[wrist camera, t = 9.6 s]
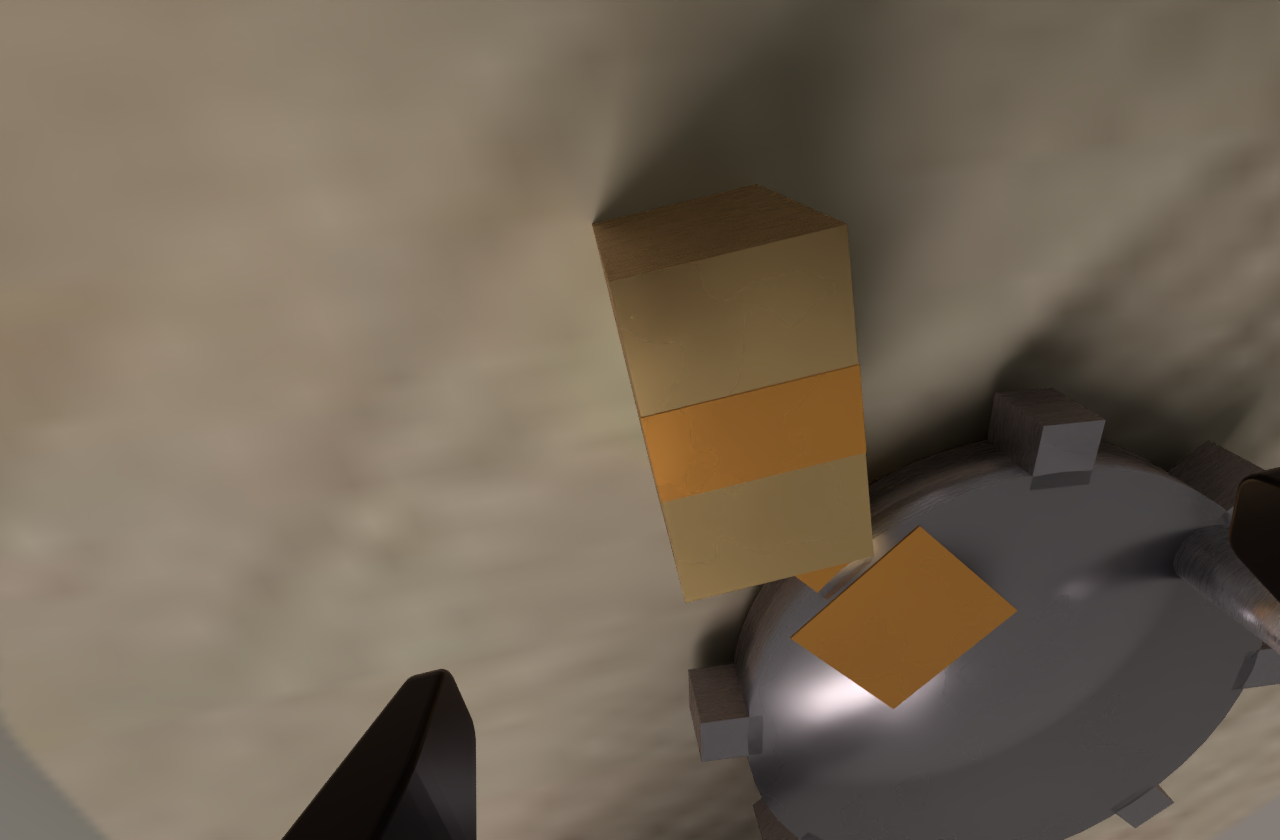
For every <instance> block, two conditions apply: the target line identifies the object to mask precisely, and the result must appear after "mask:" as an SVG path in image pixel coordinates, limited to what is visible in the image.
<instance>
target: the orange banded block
mask: <svg viewBox="0 0 1280 840" xmlns="http://www.w3.org/2000/svg"><path fill="white" fill-rule="evenodd" d="M592 226H593V230H594V234H595V239H596V243H597V247H598V251H599V255H600V259H601V263H602V268H603V272H604V276H605V280H606V284H607V288H608V292H609V297H610V301H611V305H612V309H613V313H614V317H615V321H616V326H617V330H618V334H619V338H620V342H621V346H622V350H623V355H624V359H625V363H626V367H627V371H628V375H629V379H630V384H631V388H632V392H633V396H634V400H635V404H636V408H637V413H638V417H639V421H640V425H641V429H642V433H643V437H644V442H645V446H646V450H647V454H648V458H649V462H650V466H651V471H652V474H653V478H654V482H655V486H656V490H657V494H658V498H659V502H660V506H661V509H662V513H663V517H664V521H665V525H666V529H667V533H668V537H669V540H670V544H671V548H672V552H673V556H674V560H675V564H676V568H677V572H678V575H679V579H680V583H681V587H682V591H683V595H684V599H685V603H687V602H691V601H695V600H699V599H703V598H707V597H711V596H715V595H719V594H723V593H727V592H732V591H736V590H740V589H744V588H748V587H752V586H756V585H760V584H764V583H768V582H772V581H776V580H780V579H784V578H788V577H792V576H796V575H800V574H804V573H808V572H812V571H817V570H821V569H825V568H829V567H833V566H837V565H841V564H845V563H849V562H853V561H857V560H861V559H865V558H869V557H873V556H874V551H873V538H872V526H871V513H870V501H869V489H868V476H867V464H866V452H867V451H866V438H865V426H864V413H863V401H862V388H861V376H860V365H859V364H858V352H857V339H856V327H855V315H854V302H853V290H852V277H851V265H850V252H849V240H848V228H847V224H845V223H843V222H841V221H839V220H836V219H834V218H832V217H830V216H827V215H825V214H823V213H821V212H818V211H816V210H814V209H812V208H809V207H807V206H805V205H803V204H800V203H798V202H796V201H794V200H791V199H789V198H787V197H784V196H782V195H780V194H778V193H775V192H773V191H771V190H769V189H766V188H764V187H762V186H760V185H757V184H755V185H751V186H747V187H743V188H739V189H735V190H731V191H727V192H722V193H718V194H714V195H710V196H706V197H702V198H698V199H694V200H689V201H685V202H681V203H677V204H673V205H669V206H665V207H661V208H656V209H652V210H648V211H644V212H640V213H636V214H632V215H628V216H623V217H619V218H615V219H611V220H607V221H603V222H599V223H594V224H592Z"/></svg>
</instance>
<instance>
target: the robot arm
mask: <svg viewBox="0 0 1280 840" xmlns="http://www.w3.org/2000/svg"><path fill="white" fill-rule="evenodd" d="M1228 538H1229V543H1230V546H1231V549H1232V550H1233V552H1234V554H1235V555H1236V556H1237V558H1238V559H1239V560H1240V561H1241V562H1242V563H1243V564H1244V565H1245V566H1246V568H1247V569H1248V570H1249V571H1250V572H1251V573H1252V574H1253V575H1254V576H1255V577H1256V578H1257V579H1258V581H1259V582H1260V583H1261V584H1262V585H1263V586H1264V587H1265V588H1266V589H1267V590H1268V591H1269V592H1270V593H1271V595H1272V596H1273V597H1274V598H1275V599H1276V600H1277V601H1278V602H1279V603H1280V467H1278V468H1273V469H1269V470H1265V471H1261V472H1257V473H1253V474H1250V475H1248V476H1246V477H1244V478H1243V480H1242V481H1241V482H1240V483H1239V486H1238V489H1237V494H1236V498H1235V503H1234V508H1233V513H1232V518H1231V522H1230V527H1229V533H1228ZM281 840H476V737H475V730H474V725H473V721H472V718H471V716H470V713H469V711H468V709H467V707H466V705H465V702H464V700H463V698H462V696H461V693H460V691H459V689H458V687H457V684H456V682H455V680H454V678H453V676H452V675H451V673H450V672H449V671H448V670H445V669H438V670H434V671H430V672H426V673H422V674H417V675H414V676H412V677H410V678H409V679H408V680H407V681H406V682H405V683H404V684H403V685H402V686H401V688H400V689H399V690H398V692H397V693H396V694H395V695H394V697H393V698H392V699H391V700H390V702H389V703H388V704H387V706H386V707H385V708H384V709H383V711H382V712H381V713H380V715H379V716H378V717H377V718H376V720H375V721H374V722H373V723H372V725H371V726H370V727H369V729H368V730H367V731H366V732H365V734H364V735H363V736H362V737H361V739H360V740H359V741H358V743H357V744H356V745H355V746H354V748H353V749H352V750H351V751H350V753H349V754H348V755H347V757H346V758H345V759H344V760H343V762H342V763H341V764H340V766H339V767H338V768H337V769H336V771H335V772H334V773H333V774H332V776H331V777H330V778H329V780H328V781H327V782H326V783H325V785H324V786H323V787H322V788H321V790H320V791H319V792H318V794H317V795H316V796H315V797H314V799H313V800H312V801H311V803H310V804H309V805H308V806H307V808H306V809H305V810H304V811H303V813H302V814H301V815H300V817H299V818H298V819H297V820H296V822H295V823H294V824H293V825H292V827H291V828H290V829H289V831H288V832H287V833H286V834H285V836H284V837H283V838H282V839H281Z"/></svg>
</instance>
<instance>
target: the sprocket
mask: <svg viewBox="0 0 1280 840" xmlns="http://www.w3.org/2000/svg"><path fill="white" fill-rule="evenodd" d="M1105 421H1106V420H1105V419H1104V418H1102V417H1100V416H1099V415H1097V414H1095V413H1094V412H1092V411H1090V410H1088V409H1087V408H1085V407H1083V406H1082V405H1080V404H1078V403H1077V402H1075V401H1073V400H1072V399H1070V398H1068V397H1067V396H1065V395H1063V394H1062V393H1060V392H1058V391H1056V390H1055V389H1053V388H1043V389H1032V390H1022V391H1012V392H1002V393H995V398H994V403H993V408H992V414H991V419H990V425H989V430H988V436H987V440H983V441H978V442H974V443H971V444H967V445H963V446H960V447H956V448H953V449H949V450H945V451H942V452H939V453H937V454H934V455H932V456H929V457H927V458H924V459H922V460H919V461H917V462H914V463H912V464H909V465H906V466H904V467H903V468H901V469H899V470H897V471H895V472H893V473H891V474H889V475H887V476H885V477H883V478H881V479H880V480H878V481H876V482H874V483H872V484H870V485H869V486H868V489H869V501H870V513H871V526H872V538H873V551H874V556H873V557H869V558H865V559H861V560H857V561H853V562H849V563H845V564H841V565H837V566H833V567H829V568H825V569H821V570H817V571H812V572H808V573H804V574H800V575H796V576H792V577H788V578H784V579H780V580H776V581H772V582H768V583H765V584H764V585H763V587H762V589H761V590H760V592H759V594H758V595H757V597H756V599H755V601H754V602H753V604H752V606H751V608H750V610H749V613H748V615H747V617H746V620H745V622H744V625H743V627H742V629H741V632H740V635H739V639H738V643H737V647H736V651H735V654H734V659H733V664H730V665H722V666H714V667H706V668H698V669H690V670H688V672H689V704H690V711H691V715H692V720H693V724H694V729H695V734H696V738H697V743H698V747H699V752H700V756H701V761H702V762H705V761H712V760H720V759H727V758H734V757H742V756H747V757H748V760H749V764H750V767H751V771H752V774H753V778H754V781H755V784H756V786H757V788H758V790H759V792H760V794H761V796H762V798H761V799H760V800H759V801H757V802H756V803H755V804H754V805H753V807H754V811H755V815H756V818H757V822H758V825H759V829H760V832H761V836H762V840H1064V839H1066V838H1068V837H1071V836H1073V835H1075V834H1078V833H1080V832H1082V831H1084V830H1086V829H1088V828H1090V827H1092V826H1094V825H1095V824H1097V823H1099V822H1101V821H1103V820H1105V819H1107V818H1109V817H1110V816H1112V815H1114V814H1117V815H1118V816H1120V817H1121V818H1122V819H1124V820H1125V821H1126V822H1128V823H1129V824H1130V825H1132V826H1133V827H1134V828H1136V827H1138V826H1139V825H1141V824H1142V823H1144V822H1145V821H1147V820H1148V819H1150V818H1151V817H1153V816H1154V815H1156V814H1158V813H1159V812H1161V811H1162V810H1164V809H1165V808H1167V807H1168V806H1170V805H1171V804H1173V803H1174V802H1173V801H1172V799H1171V798H1170V797H1169V796H1168V795H1167V794H1166V793H1165V791H1164V790H1163V789H1162V788H1161V787H1160V786H1159V785H1158V784H1159V783H1161V782H1162V781H1163V780H1164V779H1166V778H1167V777H1168V776H1169V775H1170V774H1171V773H1173V772H1174V771H1175V770H1176V769H1177V768H1178V767H1180V766H1181V765H1182V764H1183V763H1184V762H1185V761H1186V760H1187V759H1188V758H1189V757H1190V756H1191V755H1192V754H1193V753H1194V752H1195V751H1196V750H1197V749H1198V748H1199V747H1200V746H1201V745H1202V744H1203V743H1204V742H1205V741H1206V740H1207V738H1208V737H1209V736H1210V735H1211V734H1212V732H1213V731H1214V730H1215V729H1216V727H1217V726H1218V725H1219V724H1220V723H1221V721H1222V720H1223V719H1224V718H1225V716H1226V715H1227V713H1228V712H1229V710H1230V709H1231V707H1232V706H1233V704H1234V703H1235V701H1236V700H1237V698H1238V697H1239V695H1240V693H1241V692H1242V690H1243V689H1244V688H1251V687H1259V686H1266V685H1273V684H1280V603H1279V602H1278V601H1277V600H1276V599H1275V598H1274V597H1273V596H1272V595H1271V593H1270V592H1269V591H1268V590H1267V589H1266V588H1265V587H1264V586H1263V585H1262V584H1261V583H1260V582H1259V581H1258V579H1257V578H1256V577H1255V576H1254V575H1253V574H1252V573H1251V572H1250V571H1249V570H1248V569H1247V568H1246V566H1245V565H1244V564H1243V563H1242V562H1241V561H1240V560H1239V559H1238V558H1237V556H1236V555H1235V554H1234V552H1233V550H1232V549H1231V546H1230V543H1229V538H1228V533H1229V527H1230V522H1231V518H1232V513H1233V508H1234V503H1235V498H1236V494H1237V489H1238V486H1239V483H1240V482H1241V481H1242V480H1243V478H1244V477H1246V476H1248V475H1250V474H1253V473H1257V472H1261V471H1265V470H1264V469H1262V468H1260V467H1258V466H1256V465H1254V464H1252V463H1251V462H1249V461H1247V460H1245V459H1243V458H1241V457H1239V456H1237V455H1236V454H1234V453H1232V452H1230V451H1228V450H1226V449H1224V448H1222V447H1220V446H1219V445H1217V444H1215V443H1213V442H1211V441H1209V440H1207V441H1206V442H1205V443H1204V444H1202V445H1201V446H1200V447H1199V448H1197V449H1196V450H1195V451H1194V452H1192V453H1191V454H1190V455H1189V456H1187V457H1186V458H1185V459H1184V460H1183V461H1181V462H1180V463H1179V464H1178V465H1176V466H1175V467H1174V468H1173V469H1171V470H1170V471H1169V472H1168V473H1167V472H1166V471H1164V470H1163V469H1161V468H1159V467H1158V466H1156V465H1155V464H1153V463H1151V462H1150V461H1148V460H1146V459H1145V458H1143V457H1142V456H1140V455H1138V454H1136V453H1133V452H1131V451H1128V450H1126V449H1123V448H1121V447H1119V446H1116V445H1114V444H1110V443H1106V442H1102V441H1100V440H1101V436H1102V433H1103V429H1104V425H1105Z"/></svg>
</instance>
